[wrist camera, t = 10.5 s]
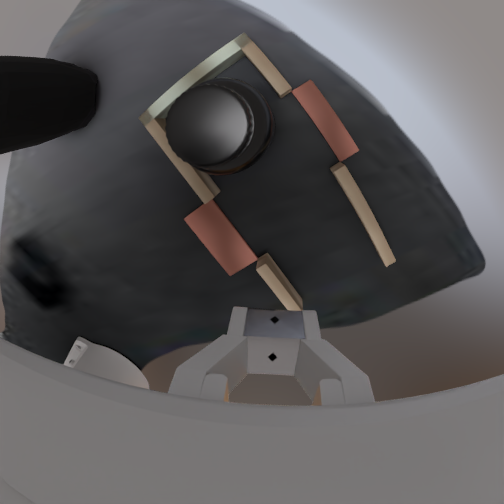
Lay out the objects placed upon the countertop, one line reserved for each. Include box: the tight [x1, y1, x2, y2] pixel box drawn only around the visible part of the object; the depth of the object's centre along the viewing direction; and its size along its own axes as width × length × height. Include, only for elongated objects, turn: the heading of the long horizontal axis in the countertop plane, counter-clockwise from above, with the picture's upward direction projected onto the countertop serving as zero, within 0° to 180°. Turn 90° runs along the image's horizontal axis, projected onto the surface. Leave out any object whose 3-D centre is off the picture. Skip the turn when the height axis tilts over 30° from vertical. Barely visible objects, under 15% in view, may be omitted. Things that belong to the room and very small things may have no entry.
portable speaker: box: [0, 56, 98, 154], centre depth 15 cm, size 9×9×20 cm
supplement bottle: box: [165, 78, 275, 175], centre depth 19 cm, size 7×7×12 cm
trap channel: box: [139, 33, 396, 311], centre depth 25 cm, size 18×26×2 cm
